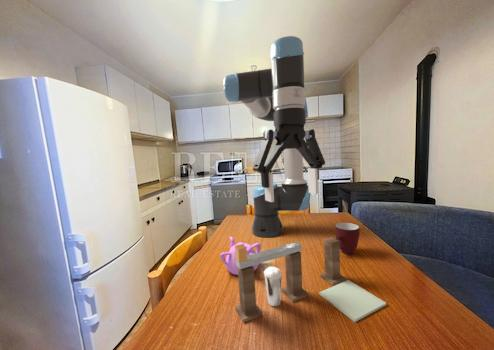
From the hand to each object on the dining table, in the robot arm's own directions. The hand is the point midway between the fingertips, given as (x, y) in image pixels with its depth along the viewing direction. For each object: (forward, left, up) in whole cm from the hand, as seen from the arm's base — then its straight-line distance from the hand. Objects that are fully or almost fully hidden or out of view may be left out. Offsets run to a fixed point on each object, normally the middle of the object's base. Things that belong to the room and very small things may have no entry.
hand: (292, 197), depth 54 cm
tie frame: (-2, +1, -28) cm, 28 cm away
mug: (-11, +31, -28) cm, 43 cm away
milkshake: (-2, -6, -28) cm, 28 cm away
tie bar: (-2, -6, -15) cm, 16 cm away
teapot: (-22, -6, -28) cm, 36 cm away
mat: (+7, +12, -28) cm, 31 cm away
